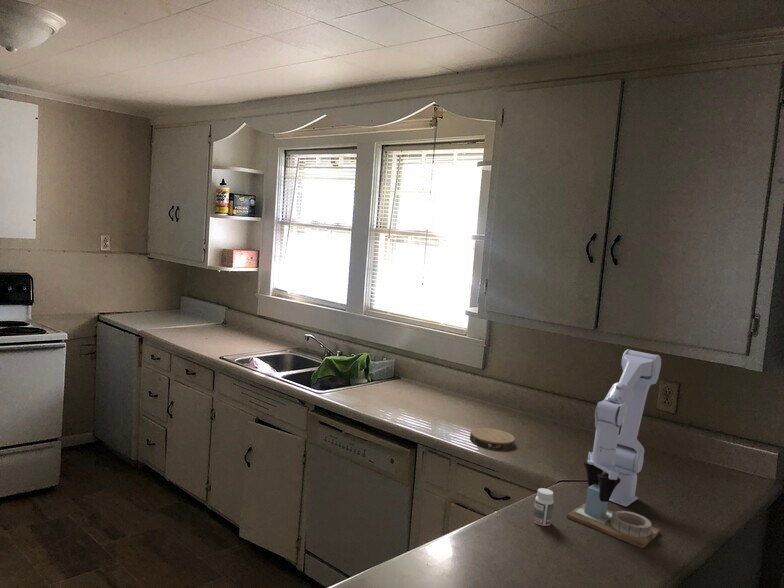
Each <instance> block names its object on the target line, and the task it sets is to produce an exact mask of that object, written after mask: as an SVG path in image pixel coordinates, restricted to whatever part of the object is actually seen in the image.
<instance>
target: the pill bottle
mask: <svg viewBox="0 0 784 588" xmlns="http://www.w3.org/2000/svg"><path fill="white" fill-rule="evenodd" d="M554 503H555V502H554V492H553V490H551V489H548V488H543V487H540V488H538V489H537V493H536V496H535V498H534V506H533V513H532V522H533V523H534V524H536V525H539V526H543V527H549V526H551V523H552V519H553V512H554Z"/></svg>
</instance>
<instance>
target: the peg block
mask: <svg viewBox="0 0 784 588" xmlns="http://www.w3.org/2000/svg"><path fill="white" fill-rule="evenodd" d="M599 491H600V487H599V484H598V485H596V484H593V485H591V486H589V487H587V490H586V497H585V498H586V499H585V510H584V513H587V514H589V515H592V516H594V517H597V518H602V517H603V516H605V515H606V513H607V509H608V505H609V501H608V502H603V501H600V498H599Z"/></svg>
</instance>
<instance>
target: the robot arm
mask: <svg viewBox="0 0 784 588" xmlns="http://www.w3.org/2000/svg"><path fill="white" fill-rule="evenodd" d="M661 368H662V357H661V356H660V355H659V354H652V353H649V352H648V353H647V352H642V351H637V350H632V349H629V348H628V349H626V350H625V351H624V352H623V354H622V357H621V369H622V374H621V375H620V378H619V381H618V382H615V383H613V384H612V386H611V387H610V389H609V390H608V393H607V394H606V396H605V398H604V399H603V400H601V401H598V402H597V404H596V407H595V411H594V420H595V421H594V427H595V434H594V442H593V448H592V451H588V454H587V460H585V461H583V465H584V467H585V472H586V477H587V486H588V487H589V486H591V485H593V484H596V485H599V487H600V491H599V498H600V501H603V502H608V503H609V502H612V503H615V504H617V505H620V506H623V507H628V506H630V505H631V504H632V503H634V502H636V501H638V499H639V497H638V496H636V490H637V481H638V475H637V474H638V473H641V471H642V469H643V465H644V455H645V448H644V446H643V445H642V443H641V442H640V441H639V439H638V435H639V430H640V427H641V426H640V425H641V422H642V418H643V413H644V411H645V410H644V409H645V405H646V400H647V397H648V392H649V390H650V387H651V386H652V385H655V384H657V382H658V380H659V376H660V372H661ZM620 427H621V429H620ZM619 432H620V433H619ZM626 447H627V448H626ZM603 472H604V474H603ZM588 487H587V488H588Z"/></svg>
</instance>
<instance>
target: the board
mask: <svg viewBox="0 0 784 588" xmlns="http://www.w3.org/2000/svg"><path fill="white" fill-rule="evenodd" d="M585 503H586V502H585ZM585 503H583V504H581V505H580V506H578V507H576V508H574V509H573V510H572V511H570V512H568V513H567V514H566V518H567V519H570V520H572V521H575V522H577V523H579V524H582V525H584V526H587V527H589V528H591V529H594V530H596V531H599V532H601V533H603V534H606V535H608V536H611V537H613V538H616V539H619V540H620V541H624V542H625V543H628V544H631V545H632V546H636V547H638V548H640V549H644V548H645V547H646V546H647V545H648V544H649V543H651V542H652V541H653V540H654V539H655V538H656V537H658V535H659V534H660V533H661V529H660V528H657V527H655V526H652V522H651V520H650V519H648V518H647V517H645V516H644V515H641V514H639V513H636V512H633V511H629V510H628V511H627V510H616V511H614V510H610V509H608V508H607V513H606V515H605V516H603V517H602V518H597V517H594V516H592V515H589V514H587V513H584V510H585Z"/></svg>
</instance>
